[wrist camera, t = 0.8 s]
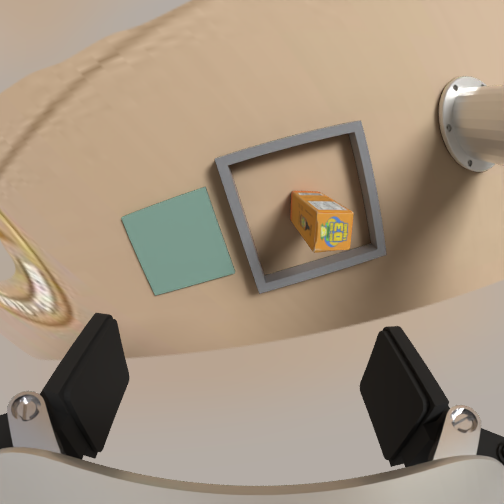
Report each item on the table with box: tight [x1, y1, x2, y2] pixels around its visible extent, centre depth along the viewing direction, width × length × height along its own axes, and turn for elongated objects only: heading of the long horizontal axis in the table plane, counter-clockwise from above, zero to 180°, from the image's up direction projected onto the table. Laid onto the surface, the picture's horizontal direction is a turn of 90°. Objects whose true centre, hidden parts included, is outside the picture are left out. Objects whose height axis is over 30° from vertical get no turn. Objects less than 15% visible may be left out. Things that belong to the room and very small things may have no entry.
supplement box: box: [290, 191, 354, 253], centre depth 27 cm, size 3×3×10 cm
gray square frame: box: [215, 121, 386, 294], centre depth 31 cm, size 15×15×2 cm
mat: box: [121, 187, 235, 295], centre depth 32 cm, size 10×10×1 cm
